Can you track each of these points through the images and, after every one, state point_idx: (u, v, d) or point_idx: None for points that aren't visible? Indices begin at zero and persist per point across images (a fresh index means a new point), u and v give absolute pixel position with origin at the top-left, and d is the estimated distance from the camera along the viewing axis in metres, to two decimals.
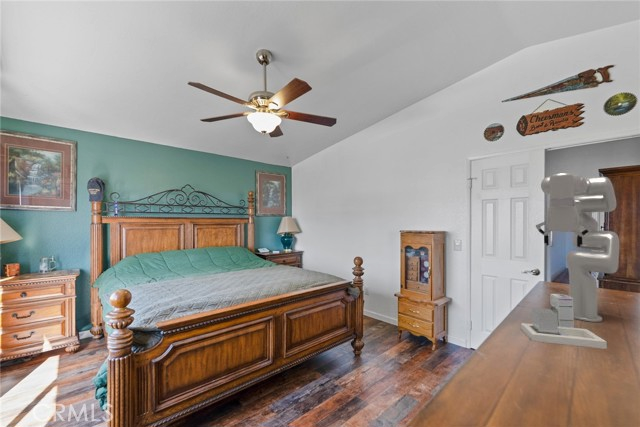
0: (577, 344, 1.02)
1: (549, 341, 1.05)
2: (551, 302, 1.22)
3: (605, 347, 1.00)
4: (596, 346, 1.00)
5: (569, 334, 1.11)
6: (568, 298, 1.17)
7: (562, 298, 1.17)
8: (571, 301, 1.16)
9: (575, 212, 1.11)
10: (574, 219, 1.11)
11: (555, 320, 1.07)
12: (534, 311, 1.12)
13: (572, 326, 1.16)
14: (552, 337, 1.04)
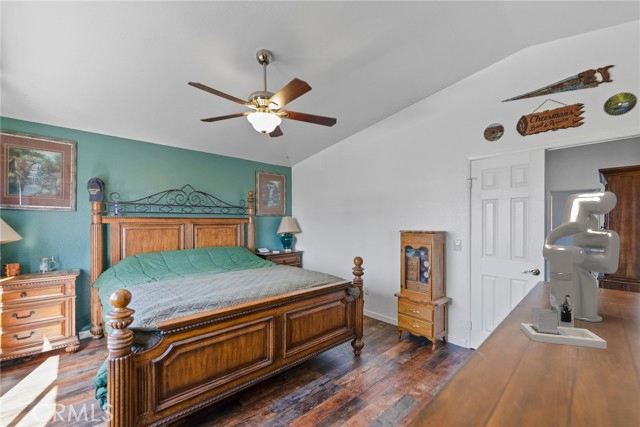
0: (577, 344, 1.02)
1: (549, 341, 1.05)
2: (551, 302, 1.22)
3: (605, 347, 1.00)
4: (596, 346, 1.00)
5: (569, 334, 1.11)
6: None
7: None
8: None
9: None
10: None
11: (555, 320, 1.07)
12: (534, 311, 1.12)
13: (572, 326, 1.16)
14: (552, 337, 1.04)
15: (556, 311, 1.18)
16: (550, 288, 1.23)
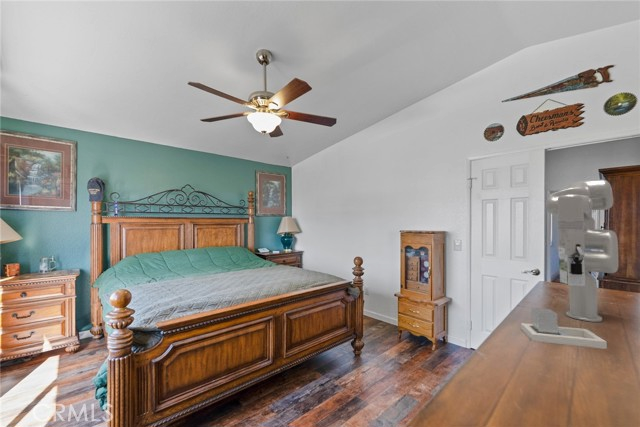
0: (577, 344, 1.02)
1: (549, 341, 1.05)
2: (560, 255, 1.12)
3: (605, 347, 1.00)
4: (596, 346, 1.00)
5: (569, 334, 1.11)
6: None
7: None
8: None
9: None
10: None
11: (555, 320, 1.07)
12: (534, 311, 1.12)
13: (583, 279, 1.07)
14: (552, 337, 1.04)
15: (565, 263, 1.09)
16: (559, 240, 1.14)
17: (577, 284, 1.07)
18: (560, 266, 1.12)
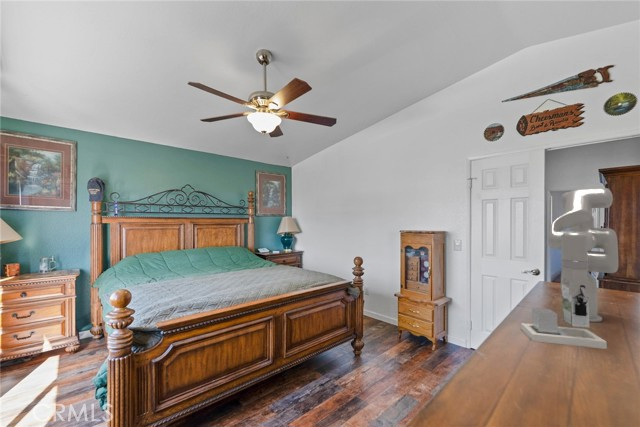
0: (577, 344, 1.02)
1: (549, 341, 1.05)
2: (563, 293, 1.10)
3: (605, 347, 1.00)
4: (596, 346, 1.00)
5: (569, 334, 1.11)
6: None
7: None
8: None
9: None
10: None
11: (555, 320, 1.07)
12: (534, 311, 1.12)
13: (587, 320, 1.04)
14: (552, 337, 1.04)
15: (569, 303, 1.06)
16: (562, 278, 1.11)
17: (581, 325, 1.04)
18: (564, 305, 1.09)
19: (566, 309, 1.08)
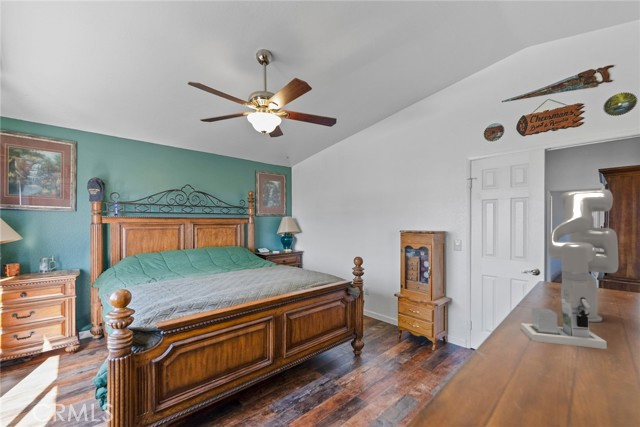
0: (577, 344, 1.02)
1: (549, 341, 1.05)
2: (563, 308, 1.10)
3: (605, 347, 1.00)
4: (596, 346, 1.00)
5: None
6: None
7: None
8: None
9: None
10: None
11: (555, 320, 1.07)
12: (534, 311, 1.12)
13: (587, 335, 1.04)
14: (552, 337, 1.04)
15: (569, 318, 1.07)
16: (562, 289, 1.11)
17: None
18: (564, 320, 1.10)
19: (566, 324, 1.08)
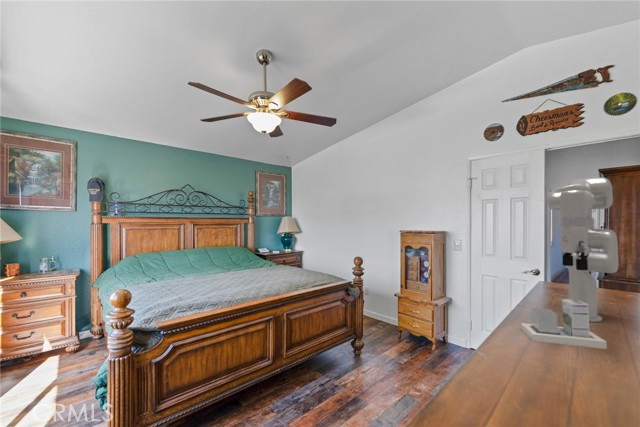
0: (577, 344, 1.02)
1: (549, 341, 1.05)
2: (563, 308, 1.10)
3: (605, 347, 1.00)
4: (596, 346, 1.00)
5: None
6: (583, 304, 1.05)
7: (576, 304, 1.05)
8: (586, 308, 1.04)
9: None
10: None
11: (555, 320, 1.07)
12: (534, 311, 1.12)
13: (587, 336, 1.04)
14: (552, 337, 1.04)
15: (569, 319, 1.06)
16: (561, 237, 1.11)
17: None
18: (564, 320, 1.10)
19: (566, 324, 1.08)
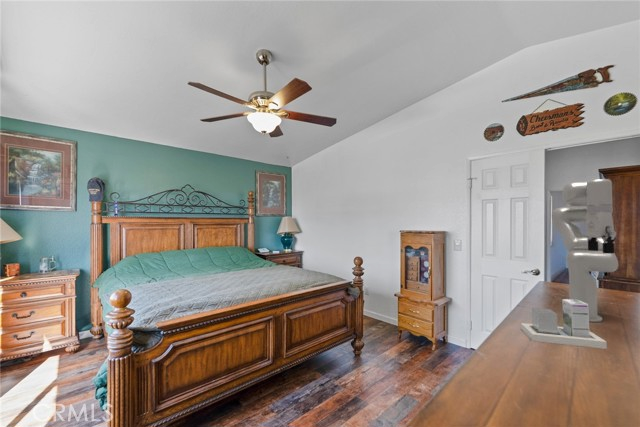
0: (577, 344, 1.02)
1: (549, 341, 1.05)
2: (564, 308, 1.10)
3: (605, 347, 1.00)
4: (596, 346, 1.00)
5: None
6: (583, 304, 1.05)
7: (576, 304, 1.05)
8: (586, 308, 1.04)
9: None
10: None
11: (555, 320, 1.07)
12: (534, 311, 1.12)
13: (587, 336, 1.04)
14: (552, 337, 1.04)
15: (569, 319, 1.06)
16: (587, 224, 1.19)
17: None
18: (564, 320, 1.10)
19: (566, 324, 1.08)
